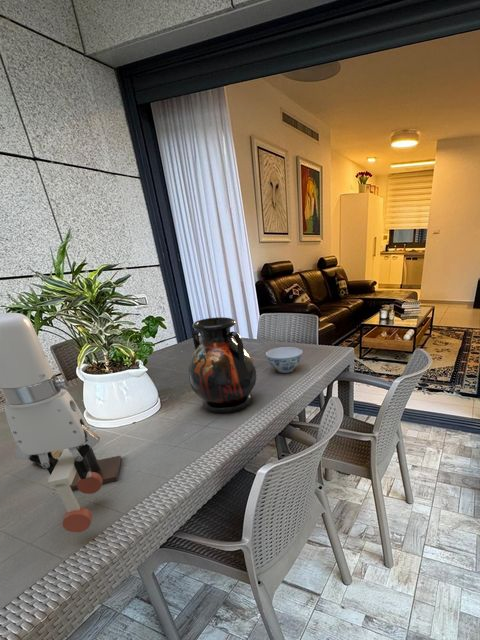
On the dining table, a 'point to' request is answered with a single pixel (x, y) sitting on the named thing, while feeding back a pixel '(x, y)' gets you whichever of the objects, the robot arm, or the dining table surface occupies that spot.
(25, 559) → the dining table surface
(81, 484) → the over-ear headset
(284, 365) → the chinaware
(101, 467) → the headphone stand
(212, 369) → the amphora vase
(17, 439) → the robot arm
